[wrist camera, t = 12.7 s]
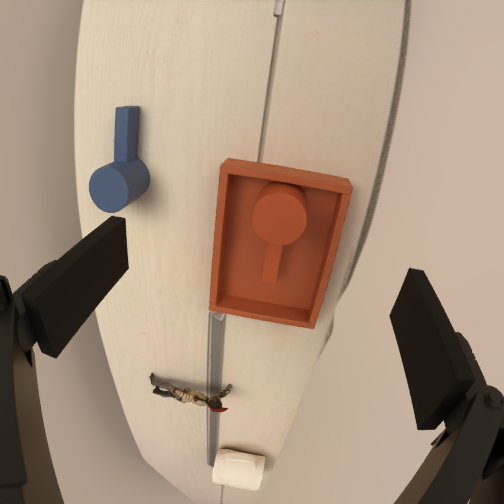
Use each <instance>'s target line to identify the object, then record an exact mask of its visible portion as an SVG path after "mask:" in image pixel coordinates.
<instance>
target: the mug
mask: <svg viewBox="0 0 504 504" xmlns="http://www.w3.org/2000/svg"><path fill="white" fill-rule="evenodd" d="M264 465H265V457H264V456H259V455H253V454H248V453H243V452H238V451H233V450H228V449H219V450H218V452H217V455H216V459H215V464H214V469H213V475H212V483H216V484H221V485H227V486H234V487H235V488H238V489H245V490H253V491H259V489H260V485H261V481H262V477H263V472H264Z"/></svg>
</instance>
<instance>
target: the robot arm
mask: <svg viewBox="0 0 504 504" xmlns="http://www.w3.org/2000/svg"><path fill="white" fill-rule="evenodd" d="M128 269H129V265H128V252H127V238H126V220H125V218H122V217H115V216H111V217H110V218H108V219H107V220H106V221H105V222H103V223H102V224H101V225H100V226H98V227H97V228H96V229H94V230H93V231H92V232H91V233H89V234H88V235H87V236H86V237H85V238H83V239H82V240H81V241H80V242H78V243H77V244H76V245H75V246H74V247H73V248H71V249H70V250H69V251H68V252H66V253H65V254H64V255H63V256H62V257H61V258H59V259H58V260H54V261H52V262H50V263H48V264H46V265H44V266H43V267H42V268H41V269H40V270H39V271H38V272H37V273H35V274H34V275H33V276H32V278H30V279H28V280H27V281H26V282H25V283H24V284H23V285H22V286H21V287H20V288H19V289H17V291H15V292H14V293H13V294H12V291H11V288H10V285H9V282H8V279H7V278H6V277H5V276H1V275H0V504H64V501H63V498H62V495H61V492H60V489H59V485H58V482H57V478H56V475H55V471H54V467H53V464H52V460H51V455H50V451H49V447H48V442H47V438H46V433H45V428H44V423H43V417H42V412H41V405H40V398H39V391H38V383H37V375H36V366H35V354H34V351H33V348H32V347H33V345H34V344H35V343H36V342H38V345H39V347H40V350H41V352H42V353H44V354H47V355H49V356H51V357H53V358H57V357H58V356H59V354H60V353H61V352H62V350H63V349H64V348H65V346H66V345H67V344H68V343H69V341H70V340H71V338H72V337H73V336H74V335H75V333H76V332H77V331H78V330H79V328H80V327H81V325H83V323H84V322H85V321H86V319H87V318H88V317H89V316H90V314H91V313H92V312H93V311H94V309H95V308H96V307H97V306H98V305H99V303H100V302H101V301H102V300H103V298H104V297H105V296H106V295H107V294H108V292H109V291H110V290H111V289H112V288H113V286H114V285H115V284H116V283H117V282H118V281H119V279H120V278H121V277H122V276H123V275H124V273H125V272H126V271H127V270H128ZM390 319H391V323H392V326H393V330H394V333H395V336H396V340H397V344H398V347H399V351H400V355H401V359H402V363H403V366H404V370H405V374H406V378H407V383H408V387H409V391H410V396H411V400H412V404H413V409H414V414H415V419H416V423H417V429H418V430H435V429H436V428H437V427H438V425H440V424H441V422H442V421H443V420H444V423H445V427H446V429H445V430H444V431H443V432H442V433H441V434H440V435H439V436H438V437H437V438H436V439H435V440H434V441H433V442H432V443H431V445H432V446H433V445H434V446H433V448H432V449H431V451H430V452H429V454H428V456H427V457H426V459H425V460H424V462H423V463H422V465H421V466H420V468H419V470H418V471H417V472H416V474H415V475H414V477H413V478H412V480H411V481H410V482H409V484H408V485H407V487H406V488H405V490H404V491H403V492H402V493H401V495H400V496H399V498H398V499H397V500H396V501H395V503H394V504H467V503H468V501H469V499H470V501H469V504H504V397H503V395H502V393H501V392H500V391H499V390H498V389H496V388H495V387H492V386H489V385H487V384H486V381H485V379H484V376H483V374H482V372H481V369H480V367H479V365H478V362H477V361H476V360H475V356H474V354H473V353H472V349H471V347H470V345H469V343H468V341H467V340H466V339H465V338H464V337H463V335H462V334H461V333H459V332H455V331H454V329H453V327H452V325H451V323H450V321H449V319H448V317H447V314H446V313H445V310H444V308H443V307H442V305H441V303H440V301H439V299H438V297H437V295H436V293H435V291H434V289H433V287H432V285H431V284H430V282H429V280H428V278H427V276H426V274H425V273H424V271H423V270H418V269H412V268H409V270H408V272H407V275H406V277H405V280H404V282H403V285H402V287H401V290H400V292H399V295H398V297H397V299H396V302H395V304H394V306H393V309H392V311H391V313H390Z"/></svg>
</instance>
